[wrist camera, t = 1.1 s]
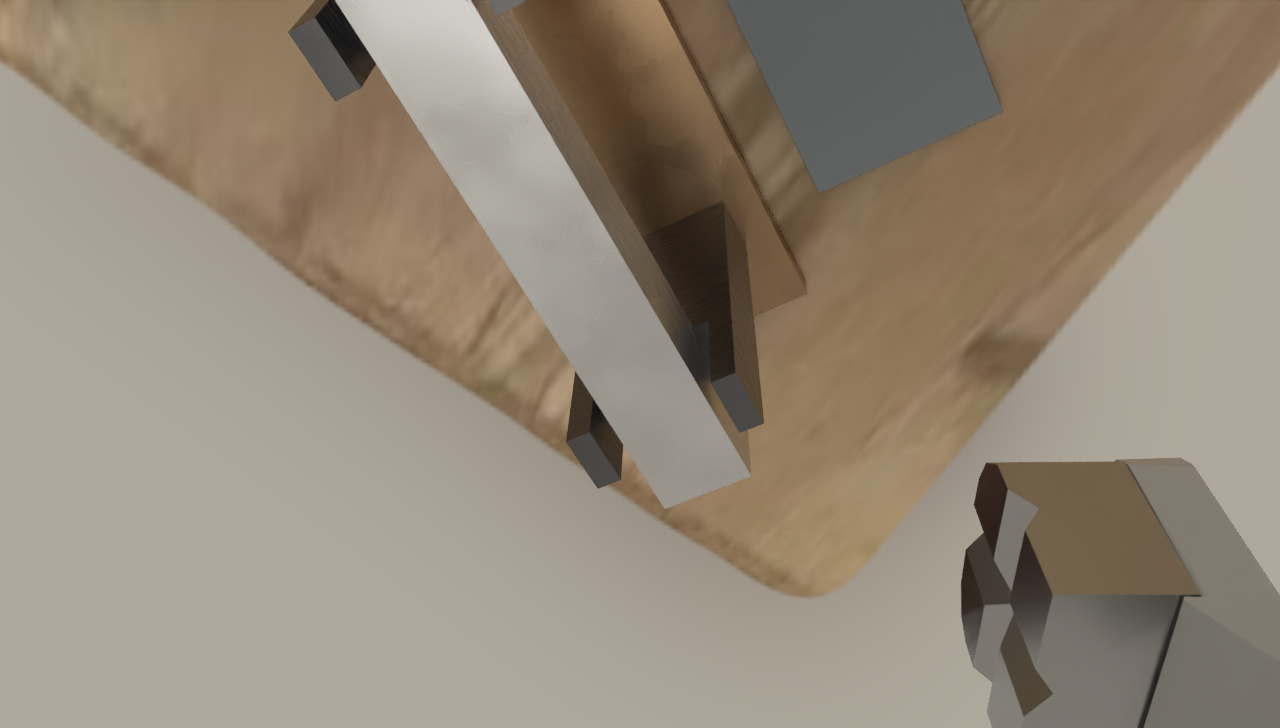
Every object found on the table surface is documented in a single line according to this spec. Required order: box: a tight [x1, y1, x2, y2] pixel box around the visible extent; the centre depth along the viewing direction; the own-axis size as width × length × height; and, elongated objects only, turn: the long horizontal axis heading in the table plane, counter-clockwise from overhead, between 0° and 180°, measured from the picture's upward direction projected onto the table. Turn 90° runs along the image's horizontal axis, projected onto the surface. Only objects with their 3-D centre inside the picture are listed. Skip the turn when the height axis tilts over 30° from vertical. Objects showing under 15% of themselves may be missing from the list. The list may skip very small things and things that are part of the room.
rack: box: [288, 0, 807, 488], centre depth 38 cm, size 8×22×12 cm, turn 27°
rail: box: [335, 0, 751, 509], centre depth 35 cm, size 20×3×3 cm, turn 27°
